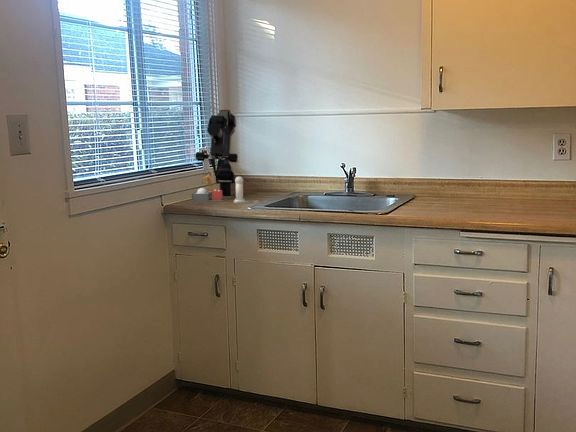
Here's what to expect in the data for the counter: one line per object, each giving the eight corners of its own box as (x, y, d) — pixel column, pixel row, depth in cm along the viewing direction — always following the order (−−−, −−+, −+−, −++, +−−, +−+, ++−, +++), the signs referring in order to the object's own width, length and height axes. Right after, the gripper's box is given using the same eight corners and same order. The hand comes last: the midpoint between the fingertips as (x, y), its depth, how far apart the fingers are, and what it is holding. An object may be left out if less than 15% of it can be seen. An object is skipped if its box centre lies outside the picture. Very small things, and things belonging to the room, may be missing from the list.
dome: (197, 197, 293) (196, 187, 292) (209, 197, 292) (209, 187, 291) (194, 199, 287) (193, 188, 286) (207, 199, 286) (207, 188, 285)
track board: (235, 206, 278) (235, 203, 278) (230, 204, 284) (230, 201, 283) (270, 204, 285) (270, 201, 285) (264, 202, 291) (264, 199, 290)
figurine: (221, 199, 301) (220, 173, 299) (214, 200, 296) (213, 174, 294) (206, 197, 305) (206, 172, 303) (199, 199, 300) (198, 173, 298)
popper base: (195, 200, 294) (195, 188, 293) (227, 201, 293) (227, 188, 292) (191, 203, 286) (190, 190, 285) (224, 204, 284) (224, 191, 284)
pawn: (235, 201, 284) (234, 175, 282) (245, 201, 284) (245, 175, 282) (233, 202, 280) (233, 176, 278) (244, 202, 279) (243, 176, 278)
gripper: (195, 136, 280) (193, 170, 278) (238, 138, 282) (236, 172, 279) (197, 143, 291) (195, 176, 289) (238, 145, 293) (236, 178, 290)
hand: (215, 175), depth 286 cm, fingers closed
